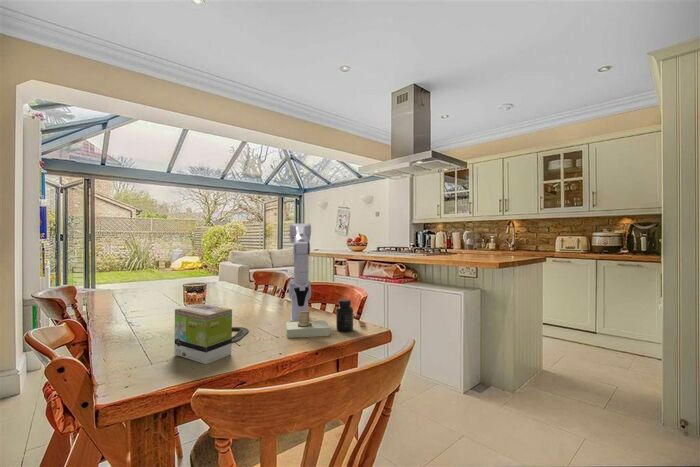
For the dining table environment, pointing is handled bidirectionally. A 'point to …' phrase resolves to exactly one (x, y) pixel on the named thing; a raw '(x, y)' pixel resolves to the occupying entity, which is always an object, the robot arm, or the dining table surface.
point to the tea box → (203, 333)
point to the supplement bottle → (344, 316)
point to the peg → (303, 319)
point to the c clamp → (239, 333)
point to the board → (308, 329)
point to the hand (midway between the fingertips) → (300, 306)
